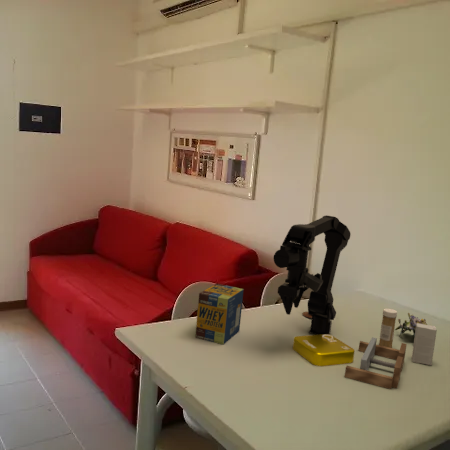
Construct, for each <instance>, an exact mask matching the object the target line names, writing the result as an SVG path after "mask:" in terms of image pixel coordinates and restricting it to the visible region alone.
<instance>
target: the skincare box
mask: <svg viewBox="0 0 450 450" xmlns="http://www.w3.org/2000/svg"><path fill="white" fill-rule="evenodd" d="M436 338H437V327H436V326H435V325H431V324H427V325H425V324H419V323H417V324H416V331H415V337H414V339H413V346H412V353H411V362H413V363H416V364H422V365H428V366H432V364H433V357H434V352H435V345H436V344H435V343H436Z"/></svg>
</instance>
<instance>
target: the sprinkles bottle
mask: <svg viewBox="0 0 450 450" xmlns="http://www.w3.org/2000/svg"><path fill="white" fill-rule="evenodd" d="M397 317H398V311H397V310H395V309H393V308H384V309H383V311H382V319H381V327H380V333H379V342H378V345H380V346H384V347H389V348H393V342H394V338H395V337H394V336H395V329H396V328H395V326H396V319H397Z"/></svg>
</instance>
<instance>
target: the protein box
mask: <svg viewBox="0 0 450 450" xmlns="http://www.w3.org/2000/svg"><path fill="white" fill-rule="evenodd" d="M244 290H245V289H244V288H239V287H236V286H230V285H227V284H226V285H225V284H220V283H215V284H214V285H212V286H210V287H208V288H206V289H204V290H203V291H200V292H199V293H198V302H197V303H198V304H197V312H196V324H195V326H196V327H195V339H199V340H203V341H207V342H211V343H216V344H220V345H225V344H226V343H227V342H229V341H230V340H231V339H232V338H234V336H235V335H237V334H238V333H240V327H241V326H240V325H241V319H242V309H243V297H244V292H245V291H244Z"/></svg>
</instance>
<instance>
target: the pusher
mask: <svg viewBox="0 0 450 450" xmlns="http://www.w3.org/2000/svg"><path fill="white" fill-rule="evenodd" d="M377 339H378V338H376V337H373V336H372V337H371V338H370V341H369V342H368V343H369V345H368V347H367V349H366V351H365V352H363V354H362V357H361V360H360V366H359V369H363V370H367V371H369V367H370V366H371V364H373V365H374V364H375V365H378V366H383V367H386V368H391V369H394V367H395V364H396V363H393V362H389V361H383V360H380V359H376V358H374V356H375V355H374V354H375V348H376V345H377Z"/></svg>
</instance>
